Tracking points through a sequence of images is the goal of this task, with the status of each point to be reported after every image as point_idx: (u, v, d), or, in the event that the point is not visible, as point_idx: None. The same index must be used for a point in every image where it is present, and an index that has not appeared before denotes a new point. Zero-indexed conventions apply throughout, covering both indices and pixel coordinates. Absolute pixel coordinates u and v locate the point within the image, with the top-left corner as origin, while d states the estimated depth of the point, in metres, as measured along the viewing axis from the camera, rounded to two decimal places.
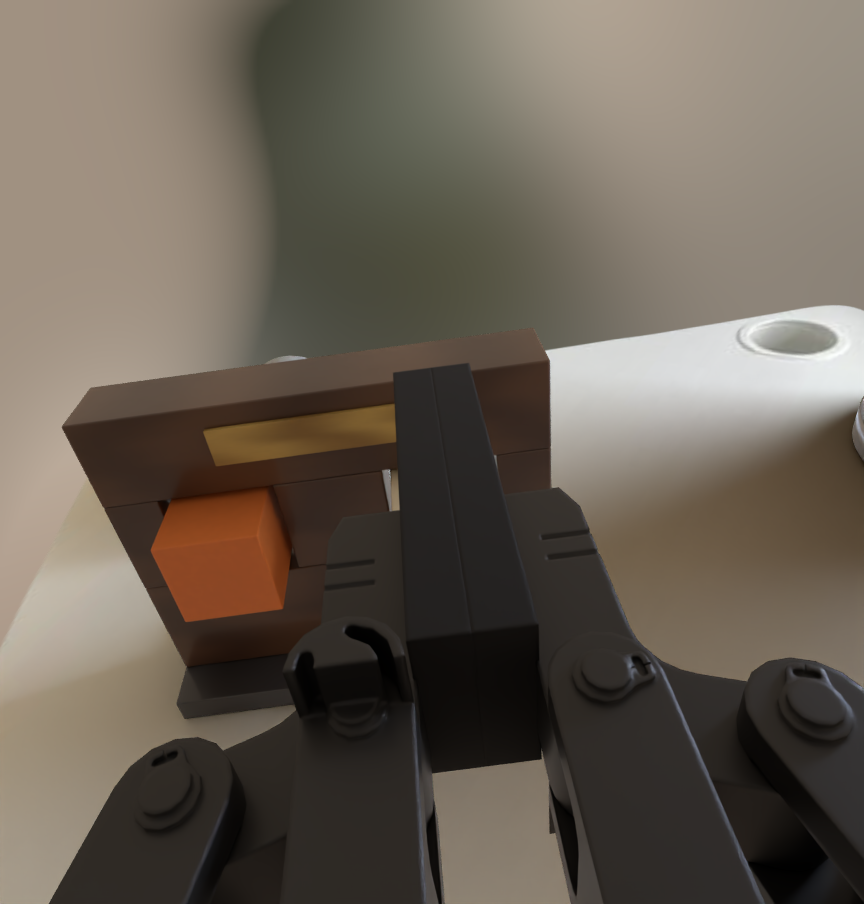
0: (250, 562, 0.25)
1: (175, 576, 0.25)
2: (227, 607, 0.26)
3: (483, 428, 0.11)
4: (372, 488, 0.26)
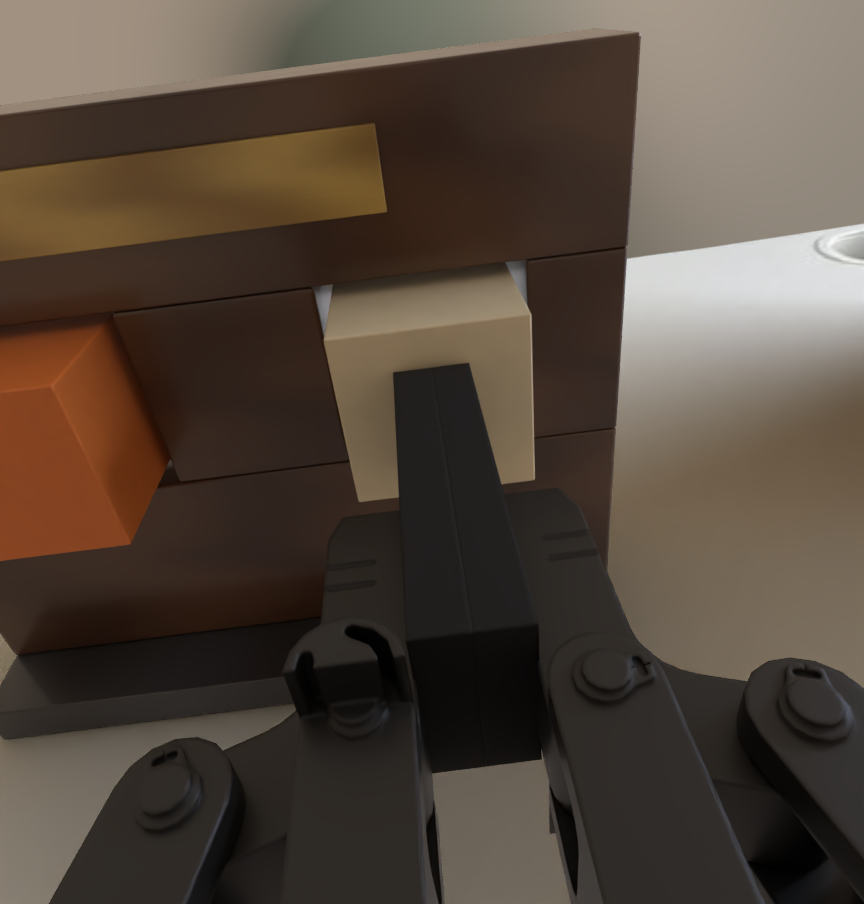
0: (49, 445, 0.13)
1: None
2: (23, 539, 0.14)
3: (483, 428, 0.11)
4: (297, 325, 0.14)
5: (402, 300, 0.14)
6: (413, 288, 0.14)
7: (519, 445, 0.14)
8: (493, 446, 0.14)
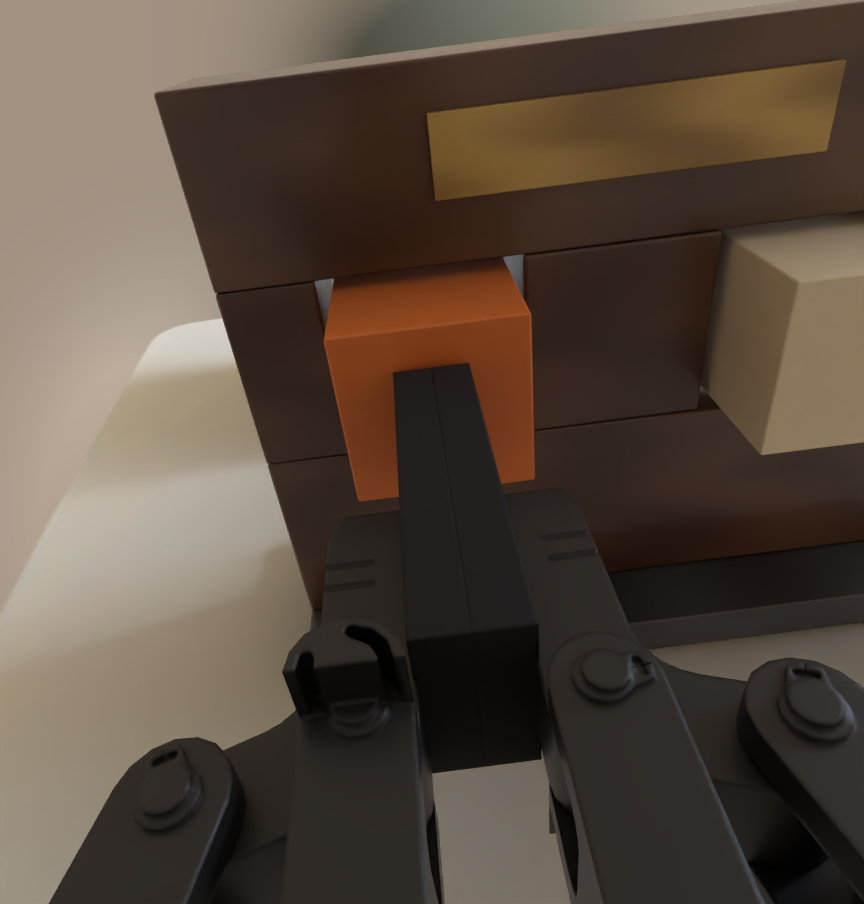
0: (503, 375, 0.13)
1: (360, 401, 0.13)
2: None
3: (483, 428, 0.11)
4: (696, 268, 0.15)
5: (835, 247, 0.13)
6: (831, 237, 0.14)
7: None
8: None
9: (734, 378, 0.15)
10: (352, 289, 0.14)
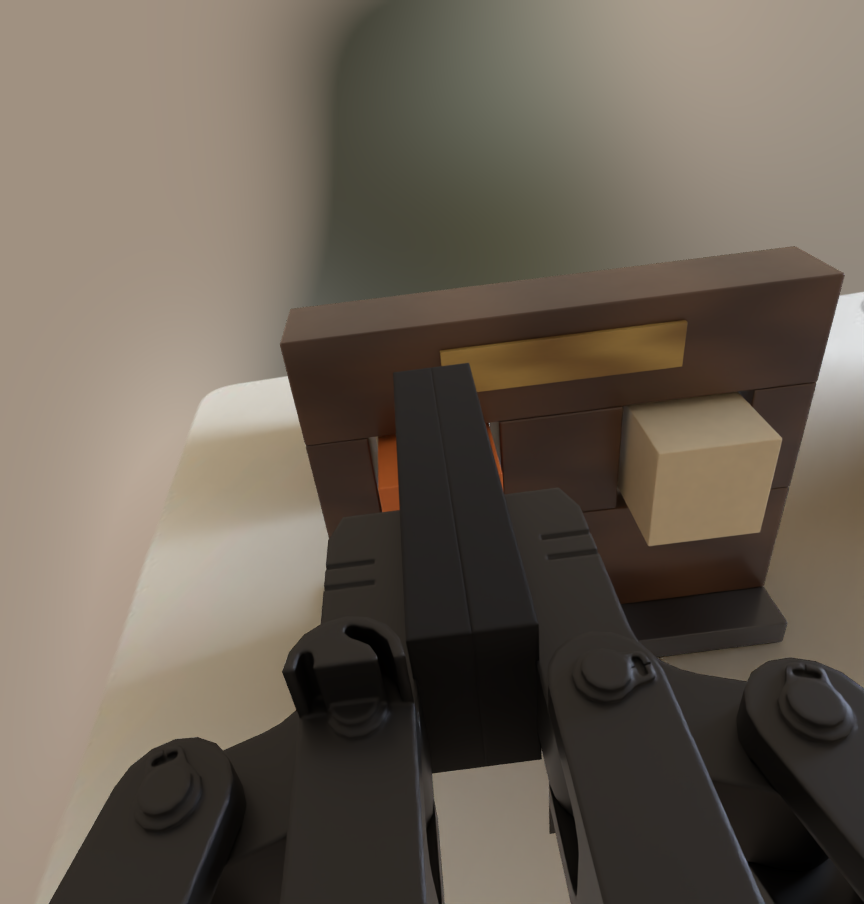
0: None
1: None
2: None
3: (483, 428, 0.11)
4: (608, 427, 0.23)
5: (688, 423, 0.22)
6: (689, 413, 0.22)
7: (756, 511, 0.22)
8: (740, 512, 0.22)
9: (634, 494, 0.24)
10: (391, 443, 0.23)
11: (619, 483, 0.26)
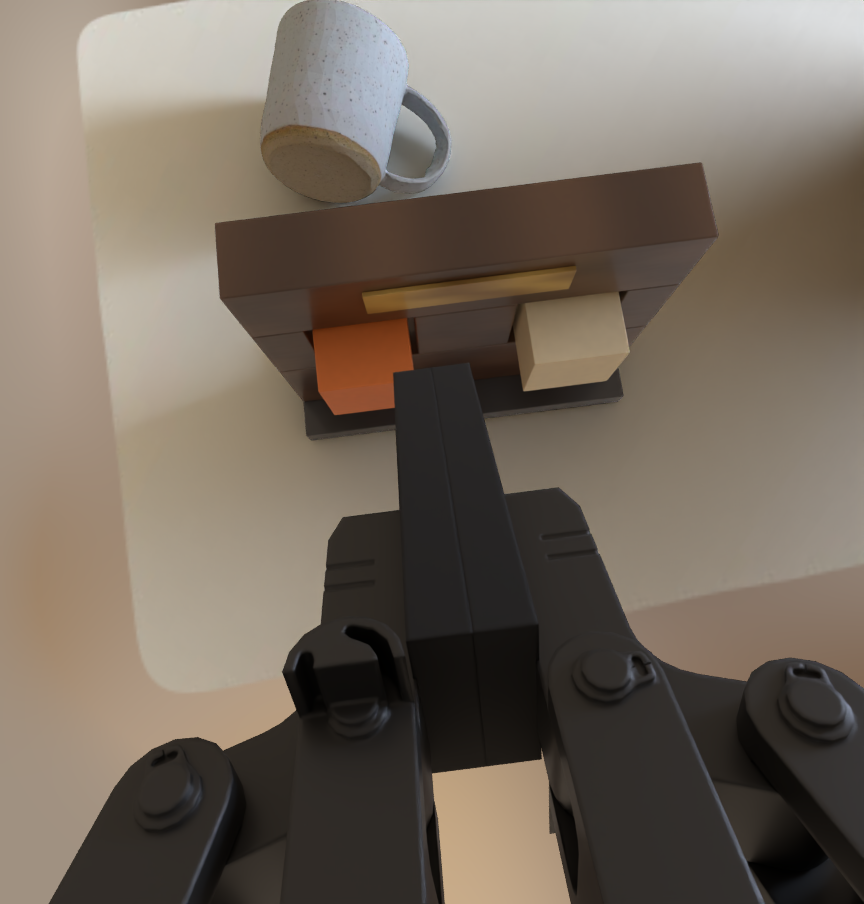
0: None
1: (335, 399, 0.28)
2: (372, 407, 0.30)
3: (483, 428, 0.11)
4: (504, 313, 0.28)
5: (566, 325, 0.27)
6: (570, 311, 0.27)
7: (605, 375, 0.30)
8: (593, 376, 0.30)
9: (520, 351, 0.30)
10: (324, 333, 0.27)
11: (513, 323, 0.31)
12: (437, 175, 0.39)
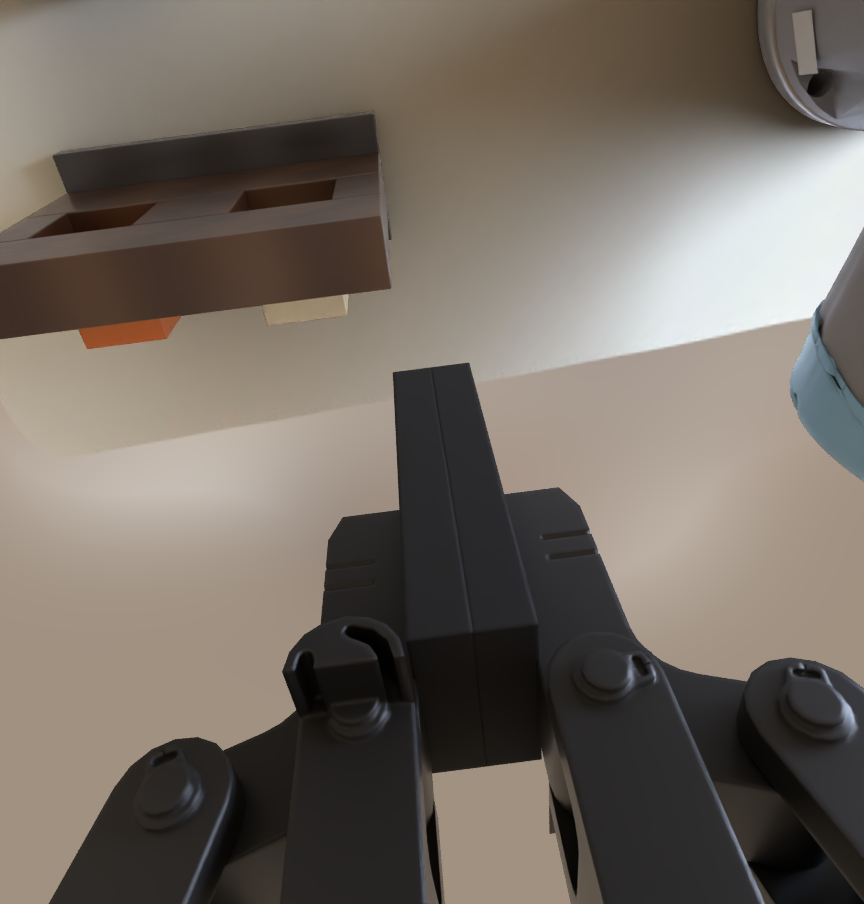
0: None
1: None
2: None
3: (483, 428, 0.11)
4: None
5: None
6: None
7: None
8: None
9: None
10: None
11: None
12: None
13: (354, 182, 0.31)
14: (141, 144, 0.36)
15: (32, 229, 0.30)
